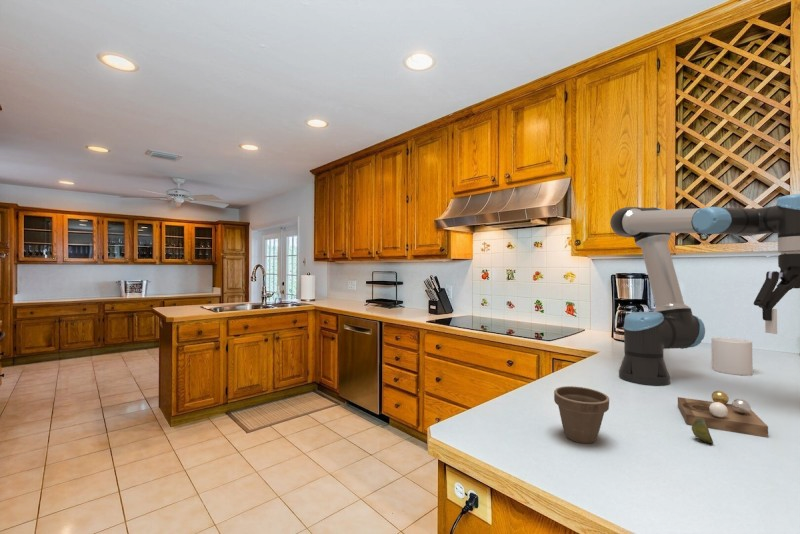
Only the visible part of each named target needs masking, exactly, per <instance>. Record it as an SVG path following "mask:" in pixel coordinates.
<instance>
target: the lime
mask: <svg viewBox="0 0 800 534" xmlns="http://www.w3.org/2000/svg"><path fill="white" fill-rule="evenodd" d="M691 431H692V434H693V436H695V437H696V439H699V440H700V441H702V442H704V443H707V444H714V441H713V438H712V436H711V433H710V428H708V427H707V425H706V423H705V420H704V418H698V419H696V420H695V421H694V423H693V425H691Z"/></svg>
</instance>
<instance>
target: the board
mask: <svg viewBox="0 0 800 534" xmlns="http://www.w3.org/2000/svg"><path fill="white" fill-rule="evenodd" d="M712 403H714V401H710V400H709V401H708V400H703V399H697V398H695V399H694V398H689V397H687V398H686V397H681V396H680V397H679V396H677V407H678V410H679V412H680V414H681V415H682V418H683V419H684V422H685V424H686V425H688V426H693V423H694V421H695V420H696V419H698V418H704V420H705V423H706V425H707V427H708V429H713V430H719V431H725V432H732V433H737V434H744V435H750V436H757V437H763V438H769V426H768V425H767V424H766V423H765V421H763V420H762V419H761V418H760V417H759V416H758V415H757V413H756V412H754V410H752V409H750V411H749V412H748V413H746V414H740V413H738V412H736V411H735V410H734V409H733V408H732V403H726V404H724V405H725V406H726V407H727V409H728V414H727V415H726V416H725V417H716V416H714V415H713V414H712V413H711V412H710V410H709V406H710V405H711V404H712Z"/></svg>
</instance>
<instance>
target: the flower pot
mask: <svg viewBox="0 0 800 534" xmlns="http://www.w3.org/2000/svg"><path fill="white" fill-rule="evenodd" d="M553 394H554V395H553V397H554V400H553V401H554V403H555V404H556V406H557V407H558V410H559V415H560V416H559V417H560V421H561V424H562V429H563V432H564V435H565V437H566V438H568V439H569V440H570V441H573V442H576V443H580V444H593V443H595V442H596V440H597V438H598V436H599V434H600V433H599V432H600V429H601V425H602V423H603V418H604V416H605V415H604V414H605V413H606V412H608V411H609V408H610V397H609V396H608V395H607V394H605V393H604V392H601V391H599V390H596V389H593V388H590V387H589V388H588V387H582V386H576V385H575V386H573V385H570V386H568V385H567V386H566V385H565V386H559V387H557V388H555V389H554V392H553Z"/></svg>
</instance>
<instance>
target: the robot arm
mask: <svg viewBox="0 0 800 534" xmlns="http://www.w3.org/2000/svg"><path fill="white" fill-rule="evenodd" d="M775 204H776V205H773V206H765V207H760V208H759V207H757V208H746V207H745V208H744V207H742V208H740V207H720V206H707V207H705V206H704V207H703V208H702V207H700V208H697V207H696V208H680V209H679V208H676V209H664V208H658V207H654V206H653V207H641V206H640V207H638V206H636V207H635V206H634V207H633V206H626V207H621V208H619V209H618V210H616V211H615V212H614V213H613V214H612V216H611V218H610V228H611V230H612V231H613V232H614V233H615V234H616V235H618V236H621V237H624V238H634V239H633V240H634V244H635V246H637V247H639V248H641V252H642V257H643V261H644V264H645V265H644V266H645V268H646V272H647V277H648V281H649V284H650V288H651V291H652V296H653V300H654V305H655V309H654V310H653V311H636V312H631V313H628V314H626V315H625V317H624V321H623V322H624V323H623V333H624V334H623V335H624V336H623V338H624V339H623V340H624V341H623V342H624V347H623V349H624V355H623V358H622V361H621V364H620V365H619V366H620V367H619V369H618V377H619V378H620V379H622V380H624V381H627V382H630V383H633V384H639V385H640V384H641V385H646V386H648V385H649V386H666V385H669V384H670V383H671V375H670V373H669V370H668V368H667V365H666V362H665V359H664V357H665V356H664V353H665V352H664V350H670V349H673V350H674V349H681V350H684V349H689V348H694V347H697V346H699V345H700V344H701V343H702V341H703V340H704V338H705V336H706V328H705V324H704V322H703V321H702V319H701V318H699V316H696V315H694V314H693V311H692V307H690V306H688V305H687V304H685V301H684V298H683V295H682V294H683V293H682V291H681V288H680V287H681V286H680V284H679V280H678V276H677V272H676V269H675V266H674V265H675V264H674V262H673V259H672V254H671V252H670V248H669V244H668V242H669V241H670V240H671V237H672V235H671V234H672V233H673V234H681V233H682V234H706V235H734V236H736V237H752V236H756V235H767V234H776V233H777V252H778V253H780V254H779V255H778V256H777V260H778V261H777V263H778V265H777V266H778V268H779V271H777V270H775V271H769V270H768V271H767V272H766V273H765V280H764V282H763V283H762V286H761V288H760V290H759V292H758V293H757V296H756V298H754V301H753V305H754V306H757V307H758V308H761V310H762V320H763V321H764V322H765V323H764V325H765V326H764V327H765V329H764V330H765V331H764V332H765V334H772V335H778V310H777V308H775V306H776V305H777V304H778V303H779V302H780V301H781V299H783V298H784V297H785V295H786V294H787V293H788V292H789V291H790V290H793V289H800V193H796V194H794V193H793V194H788V195H783V196H779V197H778V198H777V199H776V203H775ZM779 280H780V281H779ZM778 282H779V283H778Z"/></svg>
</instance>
